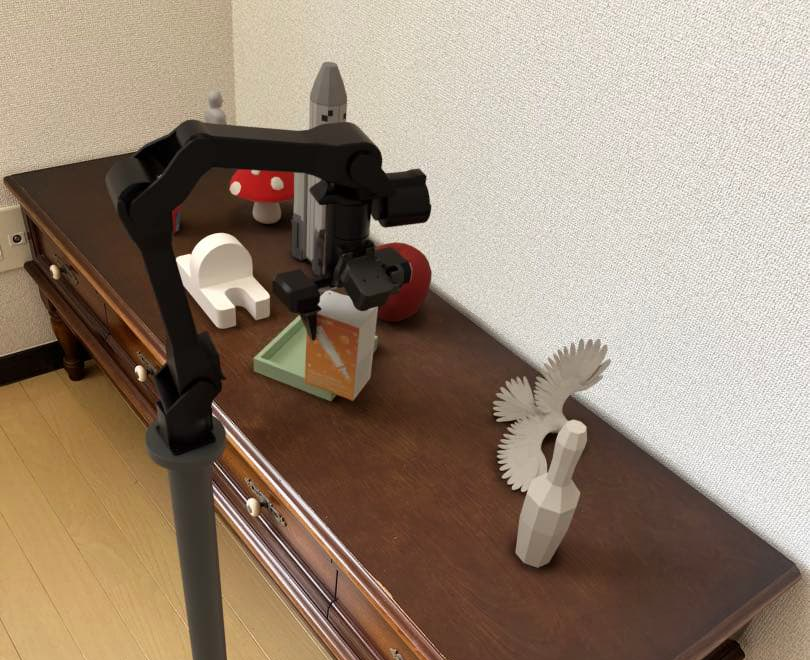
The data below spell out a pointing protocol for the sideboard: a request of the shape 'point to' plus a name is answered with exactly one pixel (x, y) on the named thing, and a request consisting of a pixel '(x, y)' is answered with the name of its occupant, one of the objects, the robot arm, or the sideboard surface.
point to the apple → (407, 285)
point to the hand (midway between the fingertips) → (340, 330)
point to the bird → (543, 408)
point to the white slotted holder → (223, 280)
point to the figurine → (214, 109)
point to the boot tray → (290, 359)
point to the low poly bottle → (551, 499)
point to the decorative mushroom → (264, 191)
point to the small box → (341, 346)
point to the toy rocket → (308, 214)
